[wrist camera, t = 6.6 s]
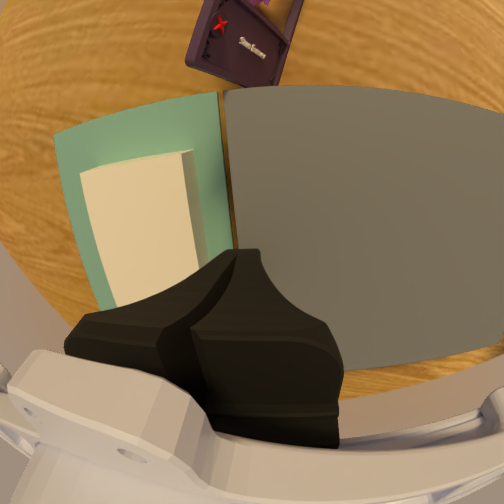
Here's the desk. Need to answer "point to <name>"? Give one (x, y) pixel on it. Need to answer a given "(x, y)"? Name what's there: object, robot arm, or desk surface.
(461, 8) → the desk surface
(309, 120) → the plate
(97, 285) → the mat
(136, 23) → the desk surface
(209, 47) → the game card
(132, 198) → the beige rectangular block
